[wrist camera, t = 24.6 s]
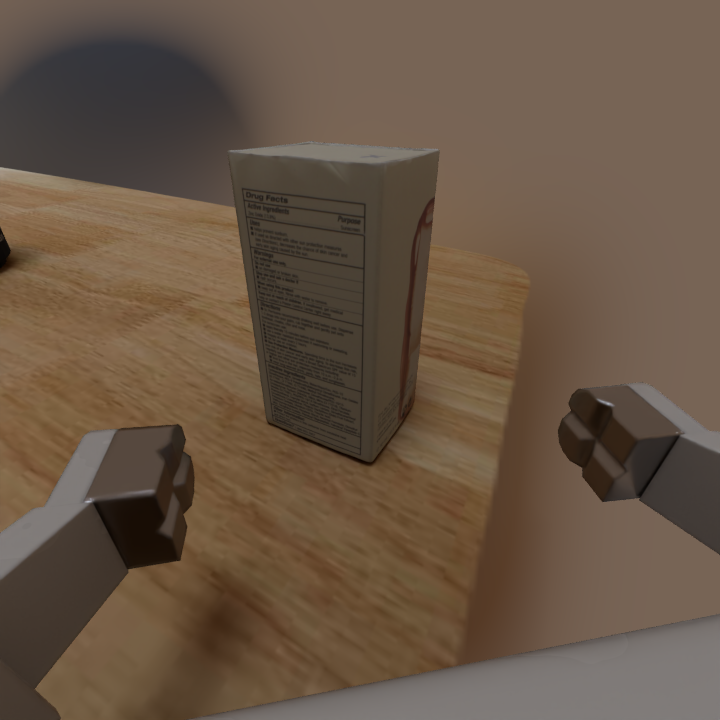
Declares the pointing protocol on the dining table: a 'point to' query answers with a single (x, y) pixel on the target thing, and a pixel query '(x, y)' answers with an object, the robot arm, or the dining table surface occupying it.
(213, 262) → the dining table surface
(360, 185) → the white carton box
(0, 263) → the beverage can
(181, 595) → the dining table surface
